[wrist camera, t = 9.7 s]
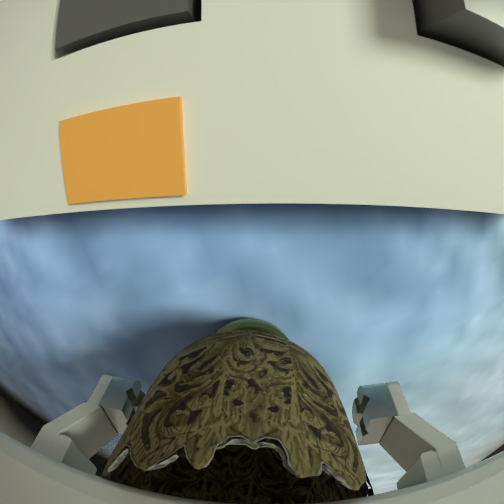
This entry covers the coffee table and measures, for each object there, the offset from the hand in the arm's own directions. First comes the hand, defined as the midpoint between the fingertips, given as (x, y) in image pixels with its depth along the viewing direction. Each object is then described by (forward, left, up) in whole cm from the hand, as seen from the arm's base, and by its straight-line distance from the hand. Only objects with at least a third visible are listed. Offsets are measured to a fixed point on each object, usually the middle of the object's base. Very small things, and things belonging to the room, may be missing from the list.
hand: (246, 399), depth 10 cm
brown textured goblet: (0, 0, -3) cm, 3 cm away
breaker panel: (-14, +2, -3) cm, 14 cm away
